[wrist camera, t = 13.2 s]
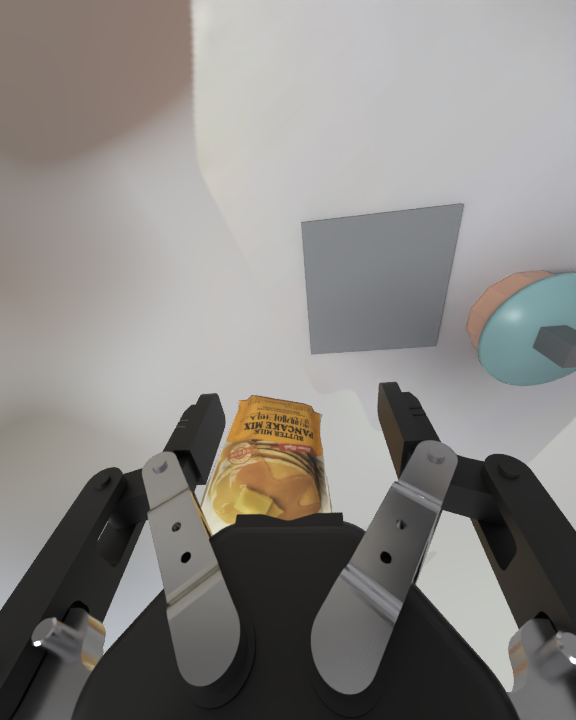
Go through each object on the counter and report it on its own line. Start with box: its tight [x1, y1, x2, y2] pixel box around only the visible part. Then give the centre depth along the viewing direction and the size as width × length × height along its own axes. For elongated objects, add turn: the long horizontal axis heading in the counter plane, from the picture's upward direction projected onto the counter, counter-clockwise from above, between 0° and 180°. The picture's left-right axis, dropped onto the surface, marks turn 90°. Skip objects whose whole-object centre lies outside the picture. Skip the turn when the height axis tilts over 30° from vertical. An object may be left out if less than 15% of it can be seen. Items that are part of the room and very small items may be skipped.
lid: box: [478, 272, 576, 386], centre depth 34 cm, size 16×16×6 cm
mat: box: [301, 204, 464, 354], centre depth 40 cm, size 20×20×1 cm
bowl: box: [466, 271, 554, 349], centre depth 39 cm, size 13×13×6 cm
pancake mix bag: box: [200, 395, 332, 535], centre depth 42 cm, size 7×19×28 cm, turn 80°
